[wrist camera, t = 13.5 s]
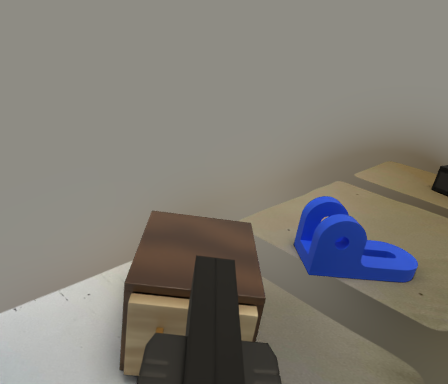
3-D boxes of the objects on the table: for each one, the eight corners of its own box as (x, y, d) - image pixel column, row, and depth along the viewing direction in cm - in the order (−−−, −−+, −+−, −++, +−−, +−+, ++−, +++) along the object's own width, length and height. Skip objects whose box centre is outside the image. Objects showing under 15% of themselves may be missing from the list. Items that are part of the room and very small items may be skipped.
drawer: (245, 433, 28) (264, 358, 25) (110, 422, 27) (113, 343, 25) (235, 294, 44) (246, 238, 41) (148, 285, 43) (153, 227, 40)
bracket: (308, 274, 52) (324, 218, 48) (293, 244, 59) (306, 194, 56) (424, 284, 54) (447, 231, 51) (395, 253, 62) (413, 206, 58)
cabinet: (246, 381, 34) (265, 298, 30) (119, 370, 33) (124, 282, 29) (237, 289, 46) (251, 222, 43) (146, 279, 45) (151, 210, 42)
